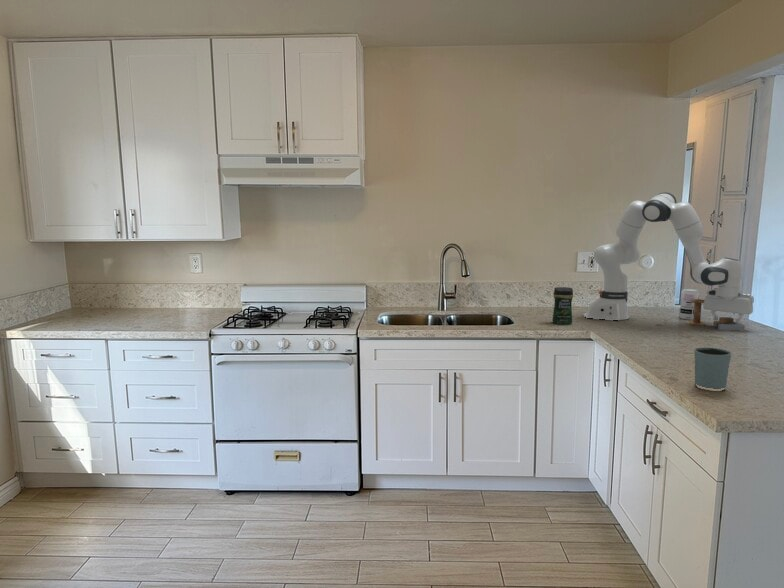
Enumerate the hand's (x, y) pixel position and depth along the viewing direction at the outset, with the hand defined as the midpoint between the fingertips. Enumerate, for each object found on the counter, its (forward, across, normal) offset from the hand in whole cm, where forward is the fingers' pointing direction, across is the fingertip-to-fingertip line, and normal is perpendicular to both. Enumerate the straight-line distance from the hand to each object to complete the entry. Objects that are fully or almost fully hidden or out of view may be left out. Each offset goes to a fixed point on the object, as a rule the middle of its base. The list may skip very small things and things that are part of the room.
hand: (726, 321), depth 255 cm
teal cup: (+4, -30, +96) cm, 101 cm away
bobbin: (+3, +13, 0) cm, 13 cm away
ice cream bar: (+3, +1, +1) cm, 4 cm away
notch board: (+3, -1, -1) cm, 3 cm away
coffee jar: (+4, +59, +45) cm, 74 cm away
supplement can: (+4, +22, -11) cm, 24 cm away
